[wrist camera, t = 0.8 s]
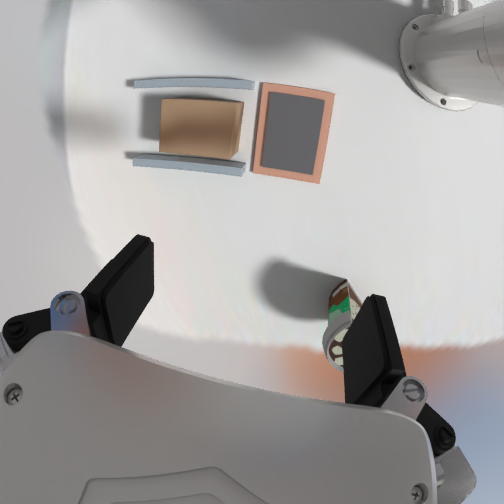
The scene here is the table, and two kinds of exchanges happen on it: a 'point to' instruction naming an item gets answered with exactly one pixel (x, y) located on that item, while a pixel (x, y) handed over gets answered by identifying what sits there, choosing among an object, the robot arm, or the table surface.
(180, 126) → the walnut block
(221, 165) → the channel
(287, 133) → the pad
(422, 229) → the table surface
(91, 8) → the table surface
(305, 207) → the table surface
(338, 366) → the food container
